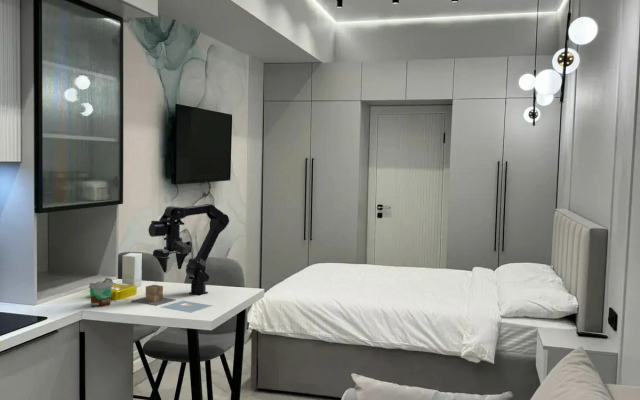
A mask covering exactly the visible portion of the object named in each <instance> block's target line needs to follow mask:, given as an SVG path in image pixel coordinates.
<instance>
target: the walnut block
mask: <svg viewBox="0 0 640 400" xmlns="http://www.w3.org/2000/svg"><path fill="white" fill-rule="evenodd" d="M145 297H146V301H151V302H157V301H160V300H163V298H164V285H159V284H151V285H147V286H145Z"/></svg>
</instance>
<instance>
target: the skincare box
mask: <svg viewBox="0 0 640 400" xmlns="http://www.w3.org/2000/svg"><path fill="white" fill-rule="evenodd" d="M142 258H143V254H142V252H141V253H140V252H139V253H138V252H129V253H126V254H123V255H122V261H121V263H122V270H121V272H122V274H121V275H122V277H121V284H129V285H136V286H137V288H138V287H140V286H142V274H143V273H142V272H143V271H142V269H143V268H142V266H143V264H142V263H143V262H142V261H143V260H142Z"/></svg>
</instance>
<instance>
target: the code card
mask: <svg viewBox="0 0 640 400" xmlns="http://www.w3.org/2000/svg"><path fill="white" fill-rule="evenodd" d="M210 307H213V305H211V304H205V303H200V302H193V301H187V300H180V301H178V302H174V303H169V304H166V305H163V306H161V308H162V309H167V310H172V311H178V312H185V313H194V312H198V311H200V310H204V309H206V308H210Z"/></svg>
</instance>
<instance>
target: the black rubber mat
mask: <svg viewBox="0 0 640 400" xmlns="http://www.w3.org/2000/svg"><path fill="white" fill-rule="evenodd" d="M175 301H176V298H175V299H174V298H169V297H168V298H167V297H163V300H160V301H157V302H151V301H146V296H145V297H140V298H137V299H133V300H131V303H139V304H143V305H144V304H145V305H149V306H155V307H156V306H161V305H164V304H168V303H171V302H175Z"/></svg>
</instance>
